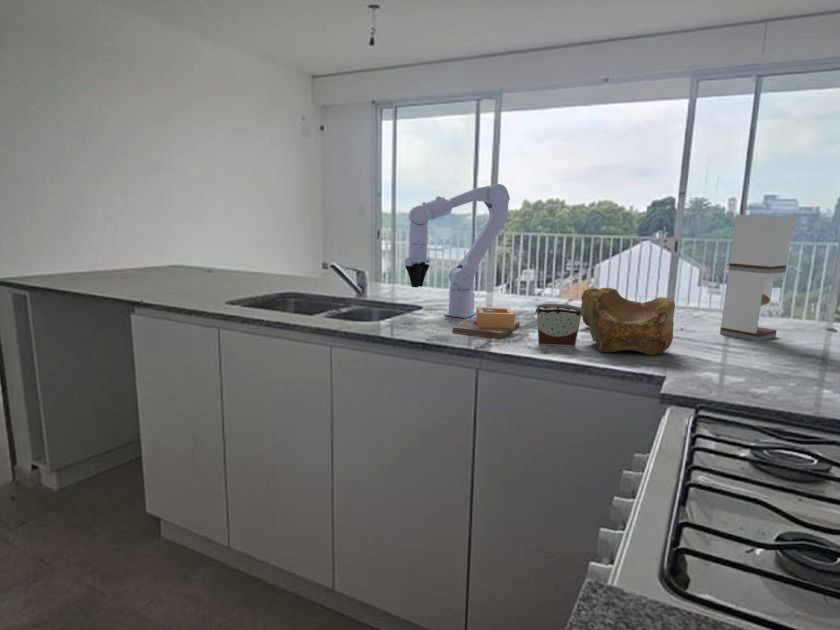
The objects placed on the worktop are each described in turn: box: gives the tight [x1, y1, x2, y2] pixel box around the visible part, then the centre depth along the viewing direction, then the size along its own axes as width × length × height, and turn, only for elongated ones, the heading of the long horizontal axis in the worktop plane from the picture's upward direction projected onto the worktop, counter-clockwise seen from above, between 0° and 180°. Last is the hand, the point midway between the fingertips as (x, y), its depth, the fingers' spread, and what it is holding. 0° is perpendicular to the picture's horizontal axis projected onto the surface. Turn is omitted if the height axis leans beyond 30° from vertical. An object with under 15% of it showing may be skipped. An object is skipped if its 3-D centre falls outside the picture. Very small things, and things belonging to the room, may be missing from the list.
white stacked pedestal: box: [719, 214, 795, 342], centre depth 156 cm, size 11×11×35 cm
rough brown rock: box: [580, 287, 676, 356], centre depth 135 cm, size 23×17×15 cm
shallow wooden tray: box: [475, 306, 516, 328], centre depth 156 cm, size 10×10×4 cm
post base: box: [452, 309, 521, 339], centre depth 156 cm, size 19×14×6 cm
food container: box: [534, 303, 584, 347], centre depth 141 cm, size 12×6×10 cm, turn 84°
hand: (417, 286), depth 173 cm, fingers open, 2 cm apart
